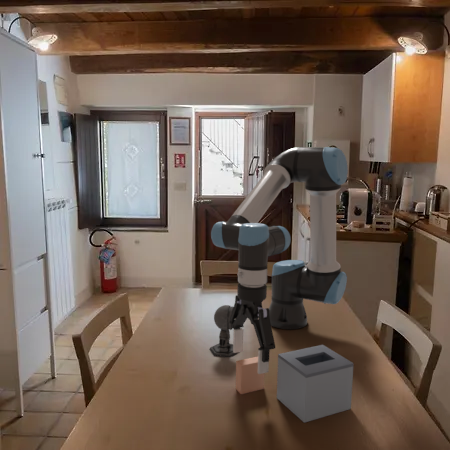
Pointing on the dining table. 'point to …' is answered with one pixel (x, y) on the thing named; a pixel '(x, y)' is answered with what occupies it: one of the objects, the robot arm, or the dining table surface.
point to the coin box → (314, 382)
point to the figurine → (223, 332)
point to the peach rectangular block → (248, 376)
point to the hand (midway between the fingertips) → (249, 361)
